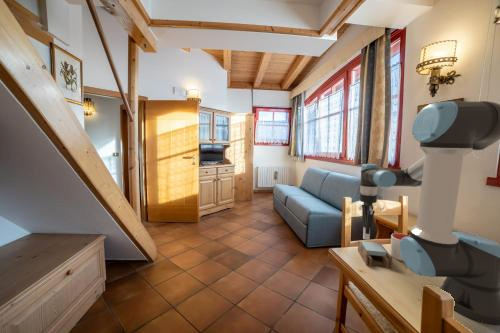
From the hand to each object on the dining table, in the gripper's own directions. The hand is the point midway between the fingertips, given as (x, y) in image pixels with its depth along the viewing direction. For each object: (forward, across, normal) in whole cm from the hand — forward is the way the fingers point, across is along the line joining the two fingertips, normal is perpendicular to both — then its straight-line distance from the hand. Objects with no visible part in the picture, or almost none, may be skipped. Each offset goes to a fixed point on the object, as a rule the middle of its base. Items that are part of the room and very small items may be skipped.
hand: (366, 238), depth 109 cm
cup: (+5, -7, -14) cm, 16 cm away
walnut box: (+5, -12, 0) cm, 13 cm away
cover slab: (+1, -10, 0) cm, 11 cm away
